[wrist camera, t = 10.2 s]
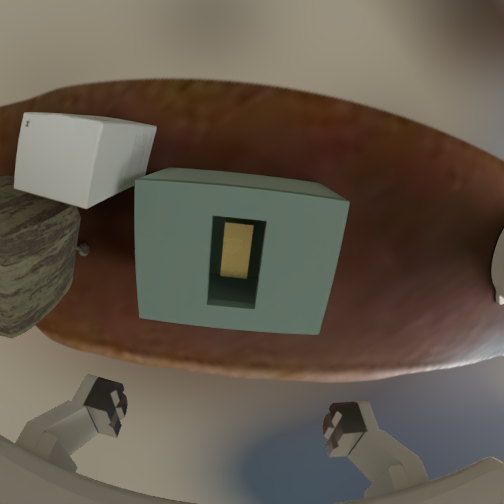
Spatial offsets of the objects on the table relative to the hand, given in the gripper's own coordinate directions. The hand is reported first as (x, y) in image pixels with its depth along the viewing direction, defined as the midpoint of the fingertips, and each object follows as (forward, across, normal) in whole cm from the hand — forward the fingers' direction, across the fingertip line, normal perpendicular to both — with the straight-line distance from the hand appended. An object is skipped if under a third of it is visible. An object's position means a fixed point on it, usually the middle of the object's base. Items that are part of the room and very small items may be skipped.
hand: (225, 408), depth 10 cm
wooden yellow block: (+23, 0, 0) cm, 23 cm away
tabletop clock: (+24, +23, 0) cm, 33 cm away
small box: (+24, +14, -8) cm, 29 cm away
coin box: (+24, 0, 0) cm, 24 cm away
